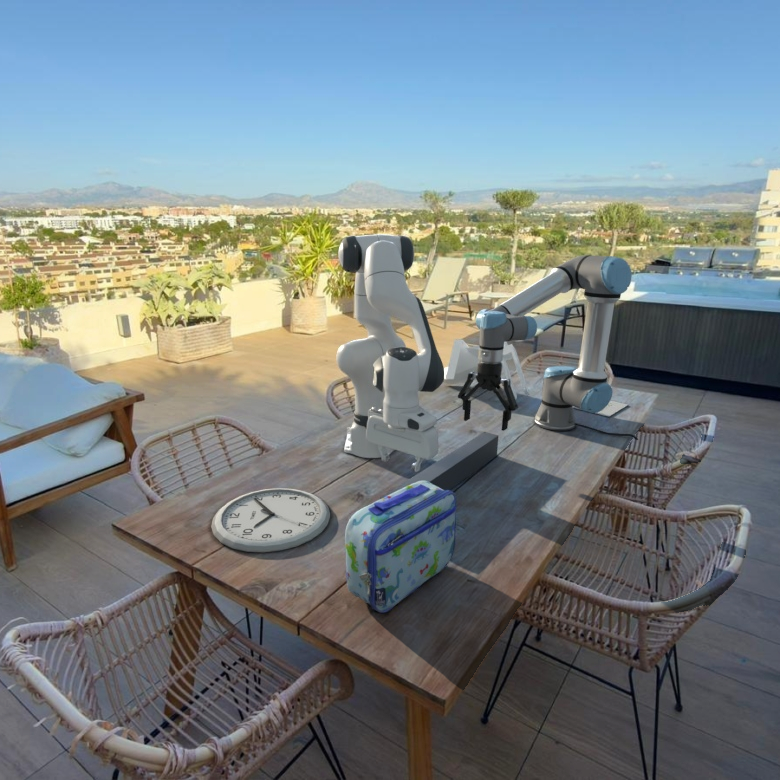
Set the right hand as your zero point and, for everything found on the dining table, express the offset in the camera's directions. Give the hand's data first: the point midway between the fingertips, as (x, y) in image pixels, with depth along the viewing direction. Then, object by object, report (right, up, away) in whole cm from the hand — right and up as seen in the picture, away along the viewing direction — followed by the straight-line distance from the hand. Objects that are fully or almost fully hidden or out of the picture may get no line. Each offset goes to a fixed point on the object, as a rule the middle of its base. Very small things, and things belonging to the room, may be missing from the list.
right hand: (485, 424), depth 170 cm
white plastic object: (+11, +10, +73) cm, 74 cm away
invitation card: (+60, +4, +56) cm, 82 cm away
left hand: (-28, -8, -38) cm, 48 cm away
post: (-14, -17, -15) cm, 27 cm away
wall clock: (-62, -22, -35) cm, 74 cm away
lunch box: (-28, -30, -58) cm, 72 cm away
